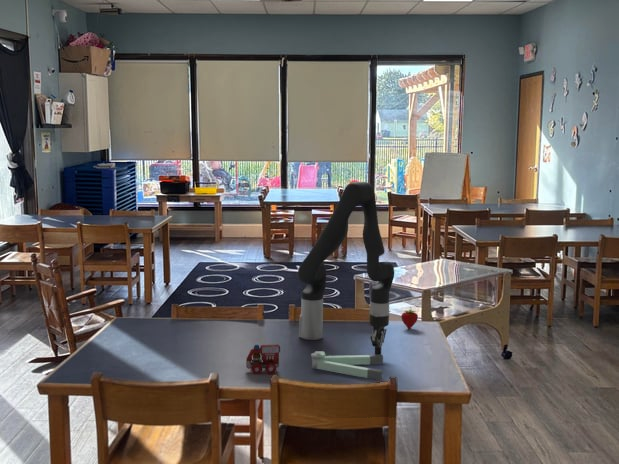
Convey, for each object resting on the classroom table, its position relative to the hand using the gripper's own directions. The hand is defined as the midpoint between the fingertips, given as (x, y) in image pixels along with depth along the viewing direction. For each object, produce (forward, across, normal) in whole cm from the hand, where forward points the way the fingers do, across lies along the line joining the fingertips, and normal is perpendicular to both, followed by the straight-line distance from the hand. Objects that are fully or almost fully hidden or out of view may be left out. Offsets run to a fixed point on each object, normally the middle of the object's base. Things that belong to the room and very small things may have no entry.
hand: (377, 355), depth 275 cm
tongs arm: (+1, +13, -8) cm, 15 cm away
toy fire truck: (+2, +31, -34) cm, 46 cm away
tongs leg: (+2, +19, -6) cm, 20 cm away
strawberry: (+2, -44, 0) cm, 44 cm away
